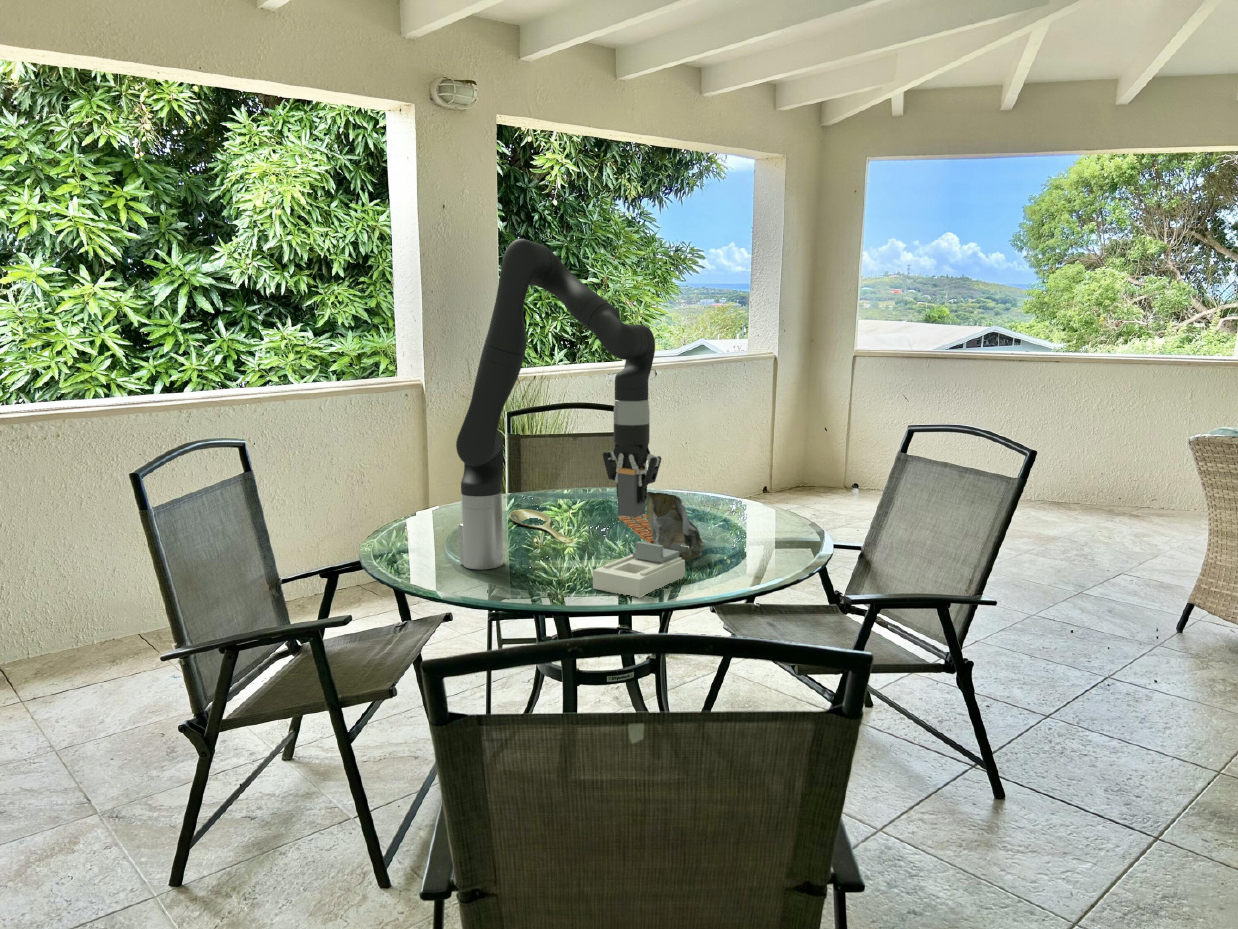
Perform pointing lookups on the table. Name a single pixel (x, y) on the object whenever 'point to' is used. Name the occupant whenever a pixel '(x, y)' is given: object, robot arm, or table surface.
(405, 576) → the table surface
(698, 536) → the stone
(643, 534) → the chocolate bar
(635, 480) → the plug
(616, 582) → the socket block
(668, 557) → the grey l-shaped block
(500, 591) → the table surface
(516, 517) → the spoon
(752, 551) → the table surface
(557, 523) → the table surface
